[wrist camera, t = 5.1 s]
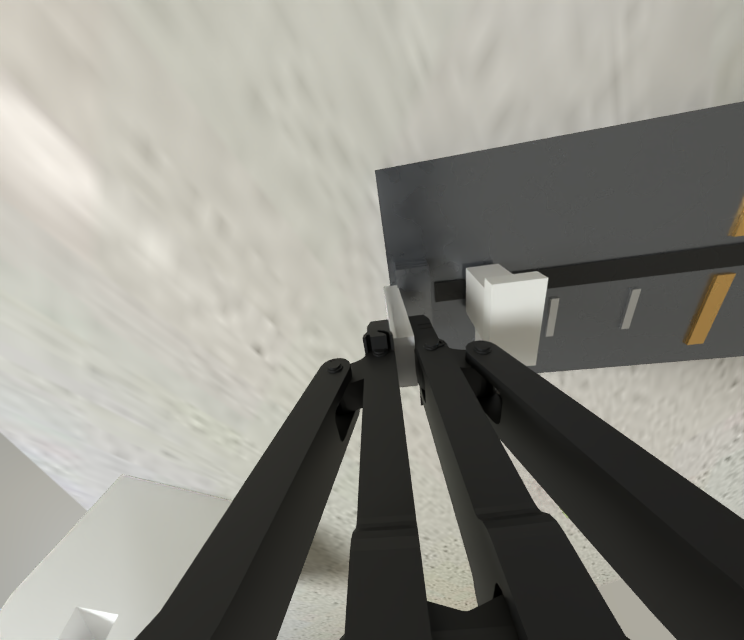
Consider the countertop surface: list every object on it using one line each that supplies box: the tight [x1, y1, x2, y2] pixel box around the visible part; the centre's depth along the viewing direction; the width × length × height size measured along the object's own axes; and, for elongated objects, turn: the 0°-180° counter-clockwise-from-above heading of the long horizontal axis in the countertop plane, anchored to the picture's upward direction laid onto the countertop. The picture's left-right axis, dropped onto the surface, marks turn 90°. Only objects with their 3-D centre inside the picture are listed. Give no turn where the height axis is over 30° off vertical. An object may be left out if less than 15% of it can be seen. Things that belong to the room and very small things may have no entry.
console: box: [375, 102, 744, 382], centre depth 17 cm, size 16×28×4 cm, turn 99°
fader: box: [466, 264, 548, 366], centre depth 15 cm, size 5×2×5 cm, turn 9°
